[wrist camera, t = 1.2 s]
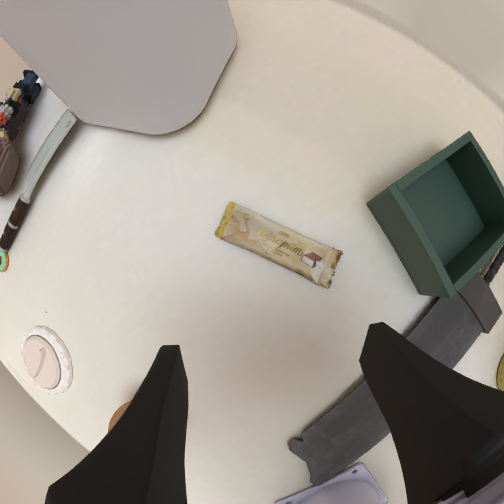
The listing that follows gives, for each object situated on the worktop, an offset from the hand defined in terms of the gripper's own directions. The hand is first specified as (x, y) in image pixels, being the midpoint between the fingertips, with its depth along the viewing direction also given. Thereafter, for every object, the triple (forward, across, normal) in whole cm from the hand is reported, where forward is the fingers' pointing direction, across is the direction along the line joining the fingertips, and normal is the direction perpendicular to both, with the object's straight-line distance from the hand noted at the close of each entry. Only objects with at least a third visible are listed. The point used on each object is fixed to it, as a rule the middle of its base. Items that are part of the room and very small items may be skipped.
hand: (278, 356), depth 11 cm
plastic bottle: (+24, +8, -13) cm, 29 cm away
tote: (+12, -17, -1) cm, 20 cm away
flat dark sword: (+7, -16, +8) cm, 19 cm away
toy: (+27, +25, -17) cm, 40 cm away
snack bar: (+13, -3, +2) cm, 13 cm away
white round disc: (+12, +21, +12) cm, 27 cm away
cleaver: (+22, +24, -5) cm, 33 cm away
